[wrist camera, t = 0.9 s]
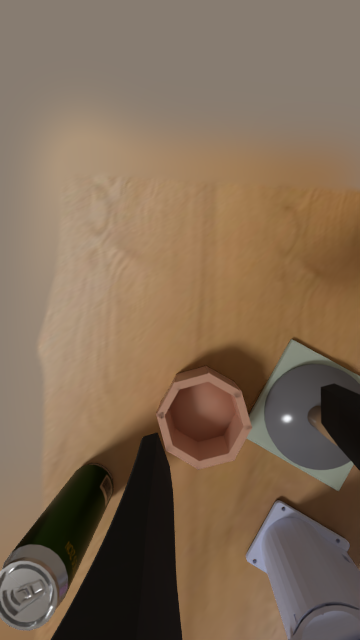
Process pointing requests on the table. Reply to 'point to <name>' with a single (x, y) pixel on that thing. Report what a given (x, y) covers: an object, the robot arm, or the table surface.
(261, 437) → the mat
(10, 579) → the beer can
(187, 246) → the table surface
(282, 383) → the lid
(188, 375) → the bowl
